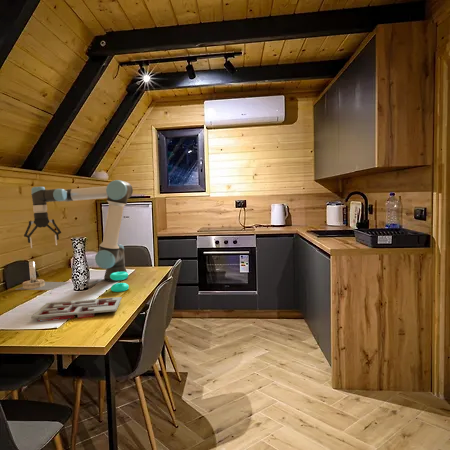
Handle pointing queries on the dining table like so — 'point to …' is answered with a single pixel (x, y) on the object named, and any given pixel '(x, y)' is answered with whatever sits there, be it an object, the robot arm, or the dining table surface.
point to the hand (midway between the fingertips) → (44, 246)
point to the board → (47, 286)
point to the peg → (32, 272)
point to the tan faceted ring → (33, 284)
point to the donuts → (119, 286)
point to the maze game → (76, 308)
